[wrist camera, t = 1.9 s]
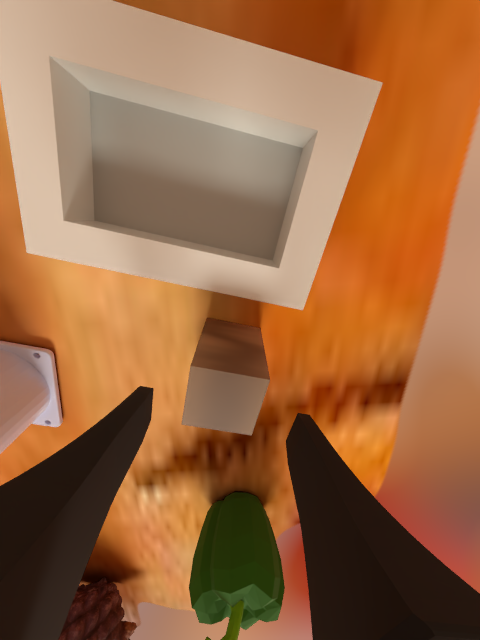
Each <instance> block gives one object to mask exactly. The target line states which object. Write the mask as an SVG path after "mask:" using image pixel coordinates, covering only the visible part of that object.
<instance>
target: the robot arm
mask: <svg viewBox="0 0 480 640" xmlns="http://www.w3.org/2000/svg"><path fill="white" fill-rule="evenodd" d="M39 354H40V355H39ZM152 400H153V388H149V387H143V386H140V387H138V388H137V389H136V390H135V391H134V392H133V393H132V394H131V395H130V396H128V397H127V398H126V399H125V400H124V401H123V402H122V403H121V404H120V405H118V406H117V407H116V408H115V409H114V410H112V411H111V412H110V413H109V414H108V415H106V416H105V417H104V418H103V419H102V420H100V421H99V422H98V423H97V424H95V425H94V426H93V427H91V428H90V429H89V430H87V431H86V432H85V433H83V434H82V435H81V436H79V437H78V438H77V439H75V440H74V441H72V442H71V443H70V444H68V445H67V446H65V447H64V448H62V449H61V450H59V451H58V452H56V453H55V454H53V455H52V456H50V457H49V458H47V459H45V460H44V461H42V462H41V463H39V464H37V465H36V466H34V467H33V468H31V469H29V470H28V471H26V472H24V473H23V474H21V475H19V476H17V477H16V478H14V479H12V480H10V481H9V482H7V483H5V484H3V485H1V486H0V640H58V639H59V637H60V634H61V631H62V629H63V626H64V623H65V621H66V618H67V615H68V612H69V610H70V607H71V604H72V602H73V599H74V597H75V594H76V591H77V589H78V586H79V584H80V581H81V579H82V576H83V573H84V571H85V568H86V566H87V563H88V561H89V558H90V556H91V553H92V551H93V548H94V546H95V543H96V541H97V538H98V536H99V533H100V531H101V528H102V526H103V523H104V521H105V518H106V516H107V514H108V511H109V509H110V506H111V504H112V502H113V500H114V498H115V495H116V493H117V491H118V489H119V487H120V485H121V483H122V481H123V479H124V477H125V475H126V473H127V471H128V470H129V468H130V466H131V464H132V462H133V460H134V458H135V456H136V454H137V452H138V450H139V448H140V446H141V444H142V442H143V439H144V437H145V434H146V431H147V429H148V426H149V423H150V421H151V413H152ZM62 422H63V419H62V412H61V404H60V397H59V389H58V381H57V374H56V366H55V358H54V354H53V352H52V351H51V350H49V349H45V348H39V347H33V346H28V345H22V344H16V343H11V342H5V341H0V454H1V453H2V452H3V451H4V450H5V449H6V448H7V447H8V446H9V445H10V444H11V443H12V442H13V441H14V440H15V439H16V438H17V437H18V436H19V435H20V434H21V433H22V432H23V431H24V430H25V429H26V428H27V427H28V426H29V425H30V424H38V425H45V426H51V427H58V426H60V425H61V424H62ZM286 448H287V458H288V466H289V471H290V476H291V480H292V485H293V490H294V495H295V499H296V504H297V509H298V513H299V518H300V524H301V530H302V538H303V545H304V553H305V561H306V571H307V580H308V588H309V600H310V610H311V622H312V635H313V640H480V594H479V593H478V592H477V591H476V590H474V589H473V588H472V587H471V586H470V585H468V584H467V583H466V582H465V581H464V580H462V579H461V578H460V577H459V576H458V575H456V574H455V573H454V572H452V571H451V570H450V569H449V568H448V567H447V566H445V565H444V564H443V563H442V562H441V561H440V560H439V559H437V558H436V557H435V556H434V555H433V554H432V553H431V552H430V551H428V550H427V549H426V548H425V547H424V546H423V545H422V544H421V543H420V542H419V541H417V540H416V539H415V538H414V537H413V536H412V535H411V534H410V533H409V532H408V531H407V530H406V529H405V528H404V527H403V526H401V524H400V523H399V522H398V521H397V520H396V519H395V518H394V517H393V516H391V514H390V513H389V512H387V510H386V509H385V508H384V507H383V506H382V505H381V504H380V503H379V502H378V501H377V500H376V499H375V498H374V496H373V495H372V494H371V493H370V492H369V491H368V490H367V489H366V488H365V487H364V485H363V484H362V483H361V482H360V481H359V480H358V478H357V477H356V476H355V475H354V474H353V472H352V471H351V470H350V469H349V467H348V466H347V465H346V464H345V462H344V461H343V460H342V459H341V457H340V456H339V455H338V453H337V452H336V451H335V449H334V448H333V447H332V445H331V444H330V443H329V441H328V440H327V438H326V437H325V436H324V434H323V433H322V432H321V430H320V429H319V427H318V426H317V425H316V423H315V422H314V420H313V419H312V418H311V416H310V415H307V414H301V413H298V414H297V416H296V419H295V421H294V423H293V426H292V428H291V430H290V433H289V435H288V437H287V440H286Z"/></svg>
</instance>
